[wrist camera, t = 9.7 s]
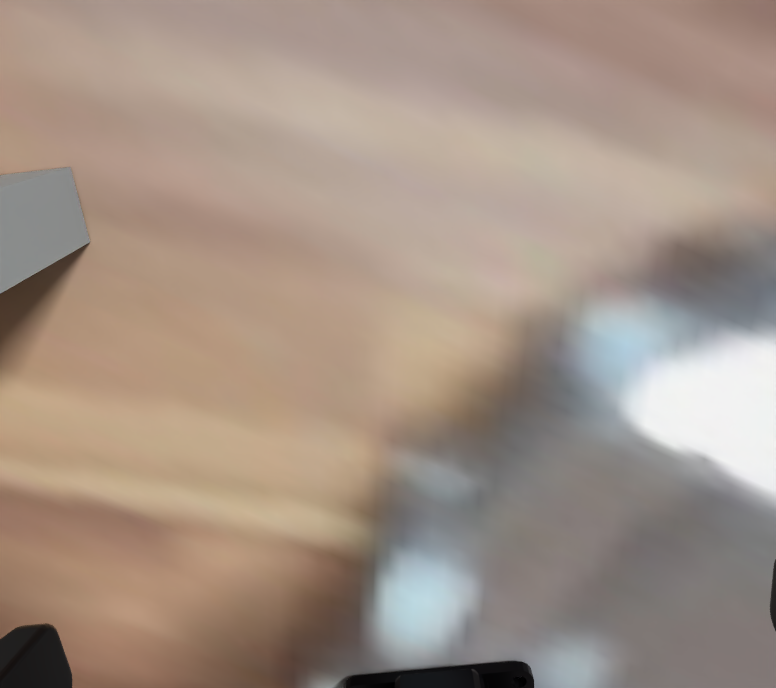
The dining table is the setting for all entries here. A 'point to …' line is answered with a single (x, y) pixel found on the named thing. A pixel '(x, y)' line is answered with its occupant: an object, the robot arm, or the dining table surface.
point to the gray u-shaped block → (37, 222)
